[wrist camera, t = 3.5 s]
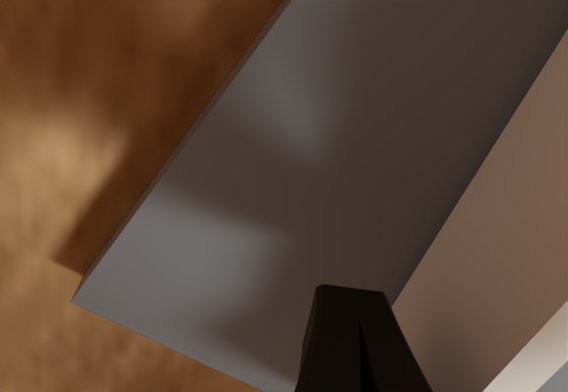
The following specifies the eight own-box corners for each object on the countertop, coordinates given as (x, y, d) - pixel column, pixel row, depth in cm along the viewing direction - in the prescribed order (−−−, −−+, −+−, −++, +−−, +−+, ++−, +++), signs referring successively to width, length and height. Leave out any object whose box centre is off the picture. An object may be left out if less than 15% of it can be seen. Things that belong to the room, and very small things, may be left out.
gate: (568, -24, 8) (756, 97, 5) (662, 9, 9) (909, 148, 5) (311, 406, 16) (310, 576, 13) (364, 418, 16) (379, 587, 13)
